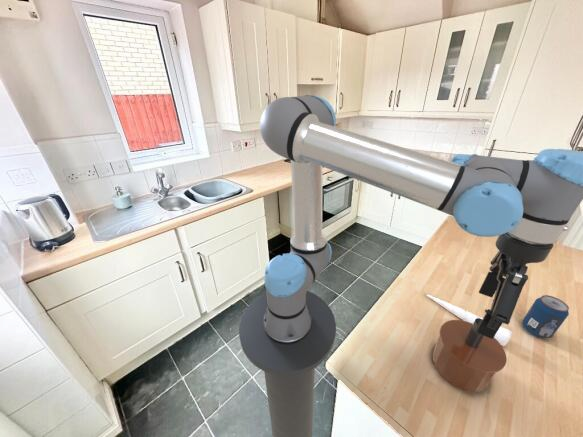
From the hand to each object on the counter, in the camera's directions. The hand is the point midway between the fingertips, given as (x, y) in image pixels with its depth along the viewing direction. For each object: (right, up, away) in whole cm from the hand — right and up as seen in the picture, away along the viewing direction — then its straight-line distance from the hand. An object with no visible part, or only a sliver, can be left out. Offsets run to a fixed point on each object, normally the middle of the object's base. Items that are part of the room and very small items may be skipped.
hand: (484, 312), depth 56 cm
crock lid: (+1, -10, +5) cm, 11 cm away
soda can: (+31, -13, +19) cm, 38 cm away
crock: (+1, -18, +10) cm, 21 cm away
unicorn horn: (+11, -11, +23) cm, 28 cm away
